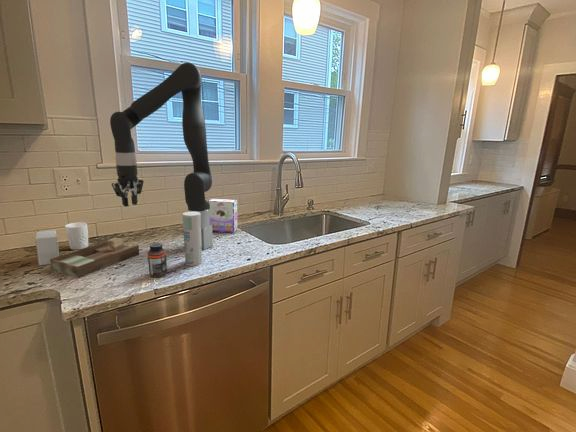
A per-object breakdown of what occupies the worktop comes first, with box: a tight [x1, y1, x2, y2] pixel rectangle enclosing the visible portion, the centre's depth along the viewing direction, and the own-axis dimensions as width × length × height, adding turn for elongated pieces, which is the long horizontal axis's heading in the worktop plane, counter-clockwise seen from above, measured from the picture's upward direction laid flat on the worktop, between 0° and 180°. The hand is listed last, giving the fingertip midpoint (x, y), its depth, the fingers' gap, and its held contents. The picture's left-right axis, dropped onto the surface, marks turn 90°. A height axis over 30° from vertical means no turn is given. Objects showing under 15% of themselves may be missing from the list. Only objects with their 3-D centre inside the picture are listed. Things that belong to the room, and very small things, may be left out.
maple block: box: [106, 237, 125, 251], centre depth 128 cm, size 4×4×4 cm
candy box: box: [207, 198, 238, 234], centre depth 164 cm, size 14×6×16 cm, turn 80°
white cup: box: [64, 221, 90, 251], centre depth 135 cm, size 8×8×10 cm
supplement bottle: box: [147, 242, 168, 278], centre depth 112 cm, size 6×6×11 cm
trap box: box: [50, 241, 140, 279], centre depth 122 cm, size 15×25×4 cm, turn 155°
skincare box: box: [34, 229, 60, 266], centre depth 121 cm, size 10×6×10 cm, turn 35°
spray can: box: [182, 211, 203, 267], centre depth 121 cm, size 6×6×20 cm
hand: (130, 205), depth 132 cm, fingers open, 3 cm apart
